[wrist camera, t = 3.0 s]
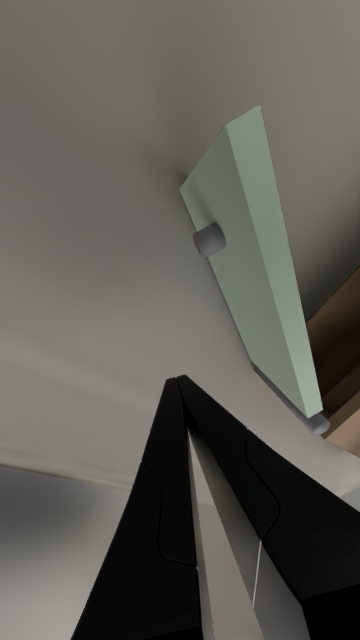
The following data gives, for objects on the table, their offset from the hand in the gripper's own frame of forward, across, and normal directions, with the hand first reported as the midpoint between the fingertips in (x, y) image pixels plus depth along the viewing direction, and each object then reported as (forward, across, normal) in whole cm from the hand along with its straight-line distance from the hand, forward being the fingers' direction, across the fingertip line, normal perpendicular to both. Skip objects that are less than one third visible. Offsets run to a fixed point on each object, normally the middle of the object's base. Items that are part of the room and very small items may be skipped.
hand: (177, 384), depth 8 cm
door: (+6, -5, -1) cm, 8 cm away
